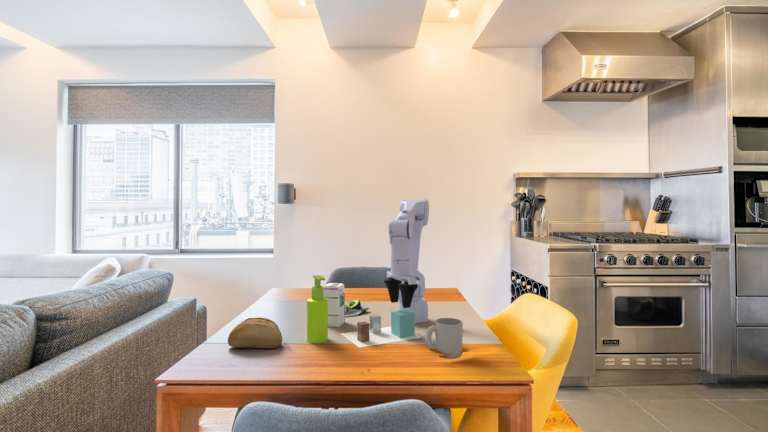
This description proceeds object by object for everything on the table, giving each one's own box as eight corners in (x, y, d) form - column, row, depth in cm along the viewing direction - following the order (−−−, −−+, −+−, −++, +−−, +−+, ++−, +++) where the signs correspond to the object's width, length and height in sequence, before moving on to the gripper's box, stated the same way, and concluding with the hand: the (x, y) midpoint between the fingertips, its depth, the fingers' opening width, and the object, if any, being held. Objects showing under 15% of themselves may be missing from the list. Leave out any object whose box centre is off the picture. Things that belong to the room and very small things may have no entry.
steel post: (377, 330, 126) (377, 314, 126) (381, 332, 123) (381, 316, 123) (369, 331, 125) (369, 315, 125) (373, 334, 122) (373, 317, 122)
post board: (398, 329, 132) (398, 325, 132) (421, 342, 119) (421, 337, 119) (340, 338, 123) (340, 333, 123) (359, 353, 110) (359, 347, 110)
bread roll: (233, 342, 119) (233, 315, 119) (285, 341, 121) (285, 314, 120) (223, 353, 110) (223, 324, 110) (279, 352, 111) (279, 323, 111)
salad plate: (351, 324, 140) (351, 310, 140) (306, 319, 146) (306, 306, 146) (372, 311, 158) (372, 299, 158) (331, 307, 164) (331, 295, 164)
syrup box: (339, 331, 130) (340, 286, 130) (322, 330, 131) (322, 285, 131) (345, 326, 135) (345, 283, 135) (328, 325, 137) (328, 282, 136)
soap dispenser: (311, 350, 112) (311, 278, 112) (304, 343, 118) (304, 274, 118) (331, 347, 115) (332, 276, 114) (323, 340, 121) (323, 273, 120)
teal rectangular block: (405, 330, 126) (406, 309, 126) (414, 335, 121) (414, 313, 121) (391, 333, 123) (391, 311, 123) (399, 337, 119) (399, 315, 119)
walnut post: (365, 338, 118) (365, 321, 118) (369, 341, 116) (369, 323, 116) (357, 339, 117) (357, 322, 117) (361, 342, 114) (361, 324, 114)
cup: (465, 358, 106) (465, 324, 106) (427, 359, 106) (427, 325, 106) (458, 349, 113) (458, 317, 113) (423, 350, 113) (423, 318, 113)
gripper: (378, 257, 127) (377, 301, 127) (400, 263, 114) (400, 311, 114) (397, 256, 130) (397, 299, 130) (422, 261, 117) (421, 308, 117)
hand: (400, 304), depth 122 cm, fingers open, 7 cm apart
